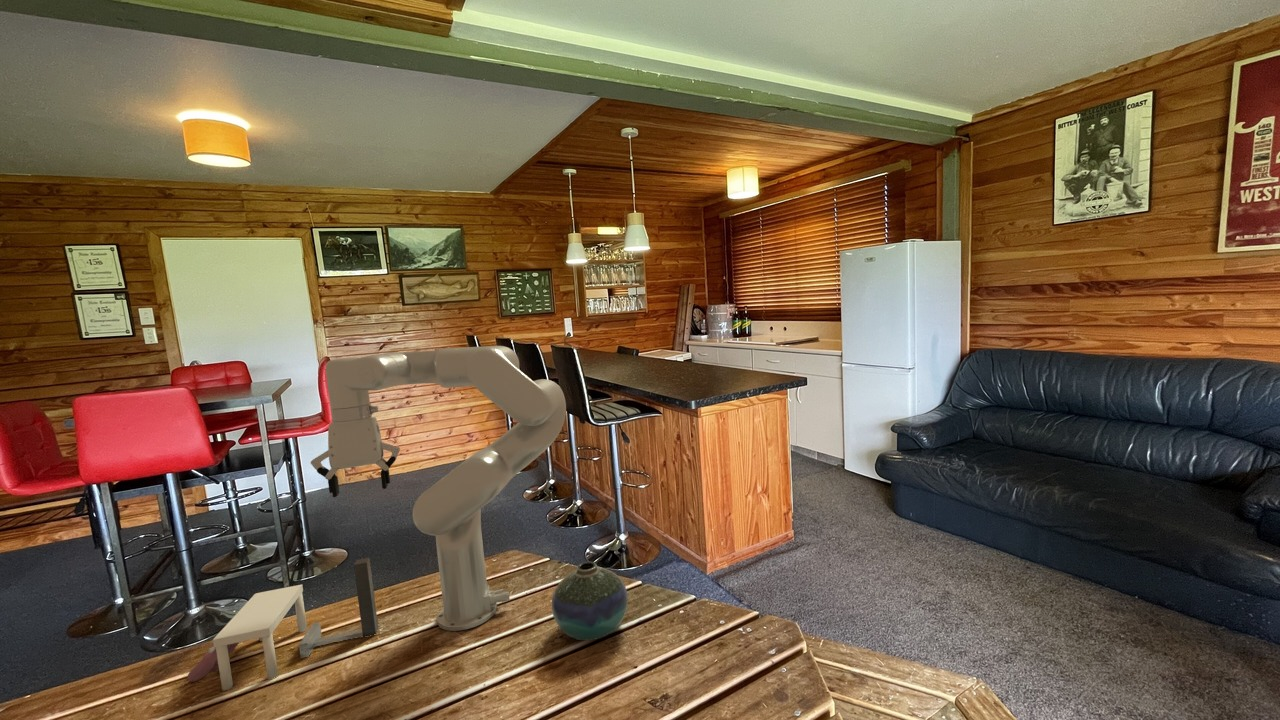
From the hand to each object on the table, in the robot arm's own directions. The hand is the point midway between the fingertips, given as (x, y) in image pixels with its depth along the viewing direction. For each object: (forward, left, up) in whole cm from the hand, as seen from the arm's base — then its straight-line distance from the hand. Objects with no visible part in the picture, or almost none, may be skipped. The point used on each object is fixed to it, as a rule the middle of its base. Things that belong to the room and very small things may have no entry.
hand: (361, 491), depth 114 cm
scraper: (+6, +5, -30) cm, 31 cm away
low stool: (+19, +5, -30) cm, 36 cm away
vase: (-45, +23, -30) cm, 59 cm away
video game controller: (+28, +4, -30) cm, 42 cm away
